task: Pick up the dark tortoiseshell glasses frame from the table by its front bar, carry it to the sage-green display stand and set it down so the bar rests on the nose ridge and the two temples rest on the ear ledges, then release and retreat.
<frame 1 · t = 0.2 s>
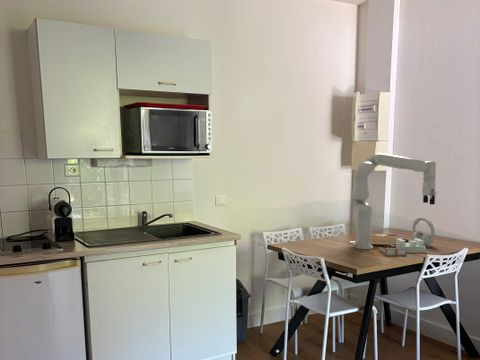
hand: (428, 203, 267), 31 cm above the table, fingers open, 9 cm apart
stand: (410, 250, 261), on the table
headphones: (422, 245, 276), on the table
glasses: (395, 255, 248), on the table
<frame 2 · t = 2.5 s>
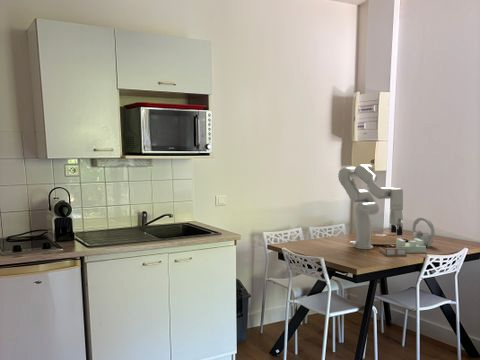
hand: (396, 233, 247), 14 cm above the table, fingers open, 9 cm apart
nothing on the table moved.
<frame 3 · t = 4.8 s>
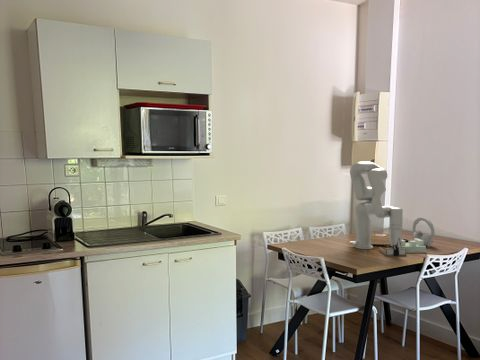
hand: (395, 254, 248), 0 cm above the table, fingers closed on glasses
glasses: (395, 255, 248), on the table, touching gripper
everything else where it was.
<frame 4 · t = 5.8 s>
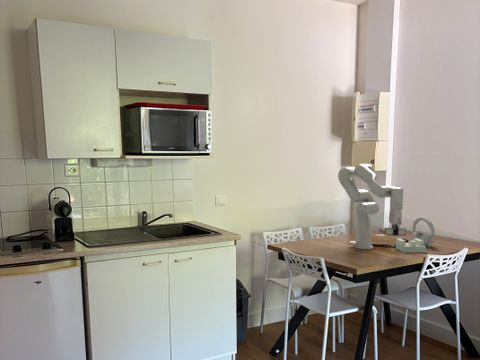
hand: (394, 234, 248), 13 cm above the table, fingers closed on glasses
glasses: (394, 235, 248), point 13 cm above the table, touching gripper
everything else where it was.
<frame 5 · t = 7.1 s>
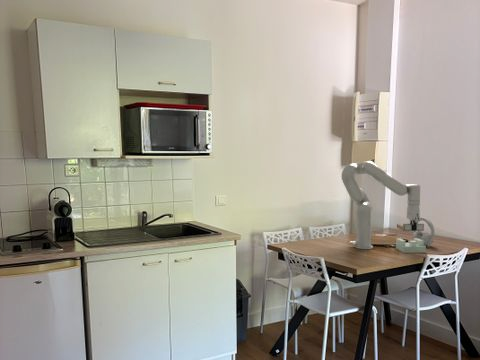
hand: (413, 230, 256), 15 cm above the table, fingers closed on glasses
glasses: (413, 230, 257), point 14 cm above the table, touching gripper
everything else where it was.
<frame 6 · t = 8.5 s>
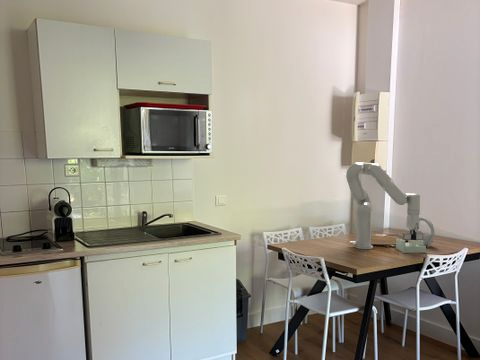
hand: (412, 239, 257), 8 cm above the table, fingers closed on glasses
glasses: (412, 239, 257), point 8 cm above the table, touching gripper
everything else where it was.
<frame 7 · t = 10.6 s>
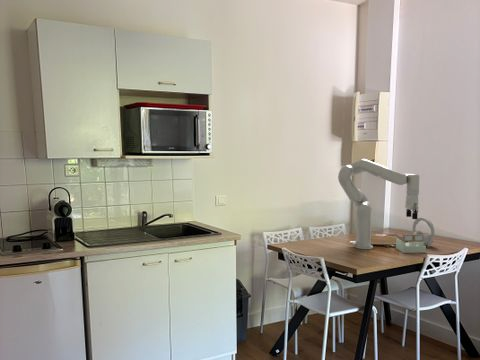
hand: (411, 217, 257), 23 cm above the table, fingers open, 9 cm apart
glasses: (412, 241, 257), point 7 cm above the table, touching stand
everything else where it was.
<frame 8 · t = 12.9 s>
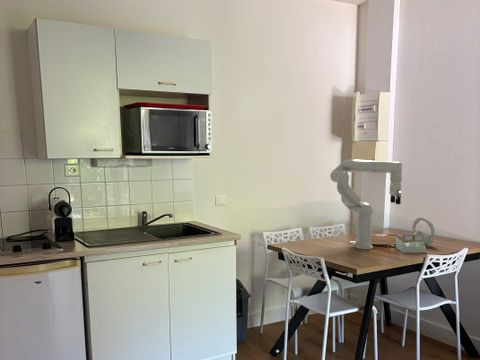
hand: (395, 203, 274), 30 cm above the table, fingers open, 9 cm apart
nothing on the table moved.
at the end: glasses 0.0 cm from the target spot on the stand, point 7.0 cm above the stand's base; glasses tilted 0°; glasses touching stand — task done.
